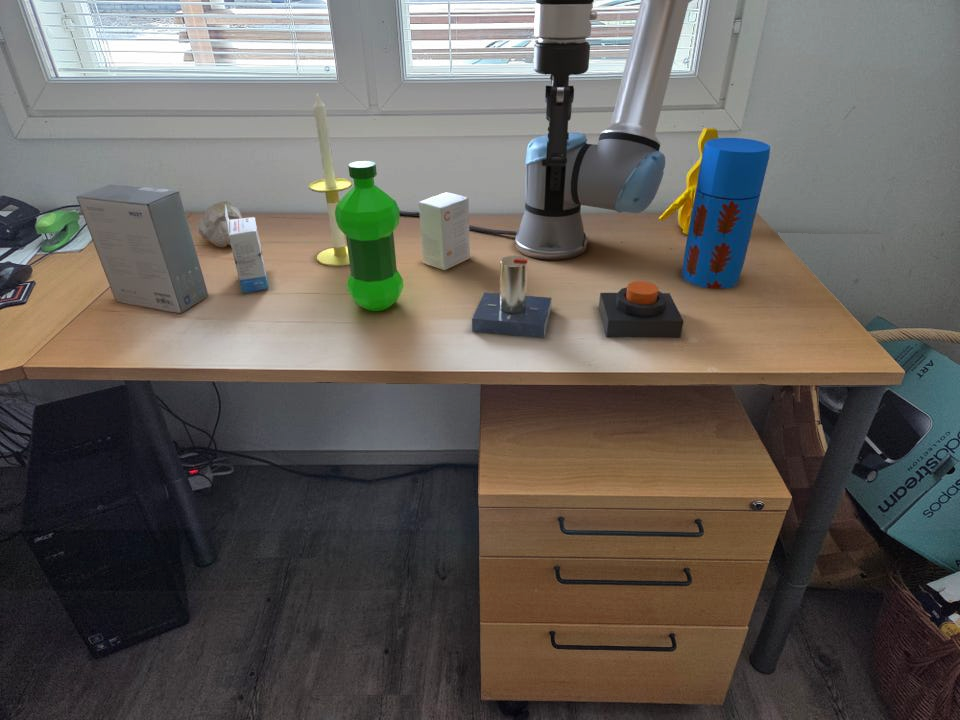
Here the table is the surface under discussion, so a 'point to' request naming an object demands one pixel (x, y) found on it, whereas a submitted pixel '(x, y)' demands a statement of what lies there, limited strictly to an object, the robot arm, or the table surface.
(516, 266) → the dial knob
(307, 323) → the table surface
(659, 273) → the table surface
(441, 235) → the small box
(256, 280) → the ink box
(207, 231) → the fossil replica
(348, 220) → the plastic bottle
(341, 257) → the candle
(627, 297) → the button
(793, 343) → the table surface
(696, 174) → the figure statuette
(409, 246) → the table surface
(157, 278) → the hard drive box
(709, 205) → the thermos
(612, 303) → the black button base
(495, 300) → the dial panel
